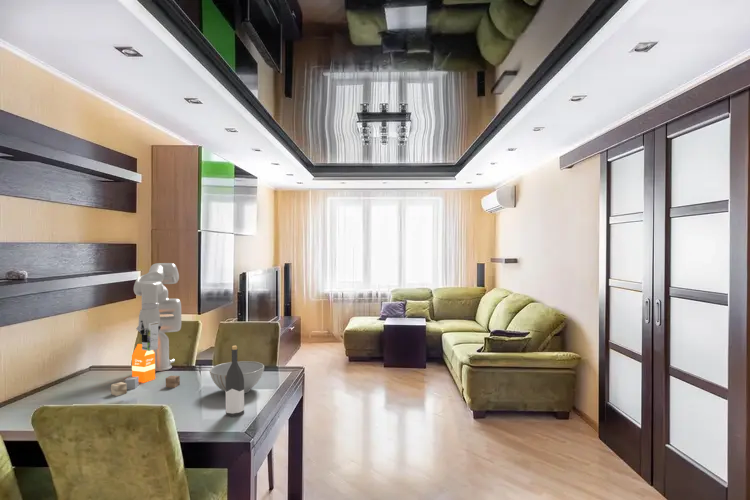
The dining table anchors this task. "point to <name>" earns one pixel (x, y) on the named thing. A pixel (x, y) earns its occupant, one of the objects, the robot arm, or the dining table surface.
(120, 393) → the maple cube
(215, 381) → the decorative bowl
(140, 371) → the orange juice
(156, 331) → the syrup box
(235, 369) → the wine bottle
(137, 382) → the slate painted cube
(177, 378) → the walnut cube
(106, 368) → the dining table surface
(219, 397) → the dining table surface
